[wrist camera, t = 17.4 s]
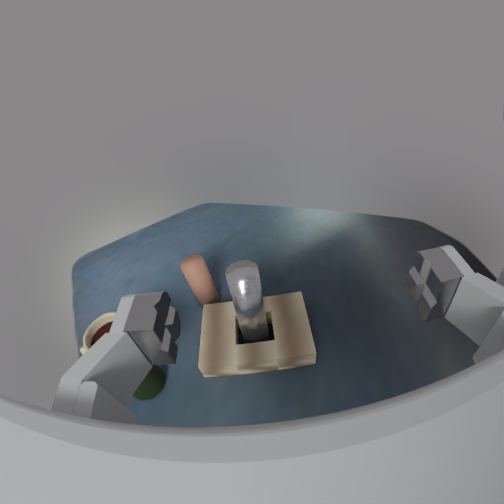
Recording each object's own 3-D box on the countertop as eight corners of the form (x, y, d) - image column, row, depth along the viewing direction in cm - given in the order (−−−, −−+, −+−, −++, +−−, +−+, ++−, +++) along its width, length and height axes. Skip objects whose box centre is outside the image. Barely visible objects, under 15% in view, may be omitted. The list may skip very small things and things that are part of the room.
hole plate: (301, 303, 46) (301, 291, 45) (315, 363, 37) (316, 352, 35) (208, 316, 47) (203, 304, 45) (204, 377, 37) (198, 367, 36)
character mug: (177, 358, 41) (144, 301, 33) (183, 397, 35) (144, 346, 27) (118, 371, 39) (75, 320, 31) (118, 408, 33) (67, 362, 26)
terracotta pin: (210, 288, 53) (194, 251, 47) (224, 297, 50) (207, 259, 45) (194, 301, 51) (175, 265, 45) (207, 311, 48) (188, 273, 43)
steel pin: (268, 327, 44) (257, 258, 35) (271, 347, 40) (259, 279, 32) (243, 330, 44) (225, 262, 35) (244, 351, 40) (224, 284, 32)
